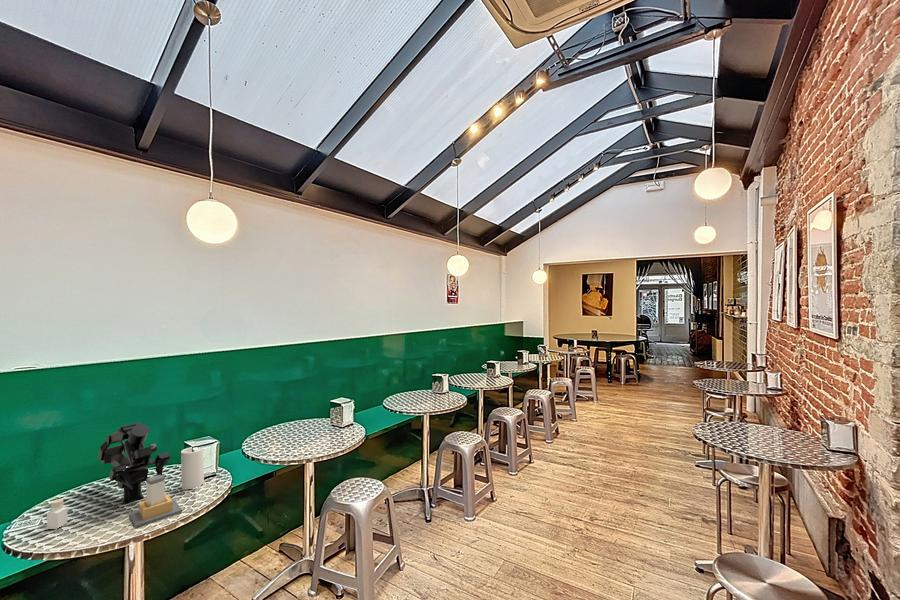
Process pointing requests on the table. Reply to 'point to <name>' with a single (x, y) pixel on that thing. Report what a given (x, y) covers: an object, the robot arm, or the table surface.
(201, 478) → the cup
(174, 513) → the socket plate
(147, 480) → the plug
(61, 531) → the table surface
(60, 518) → the pepper shaker
